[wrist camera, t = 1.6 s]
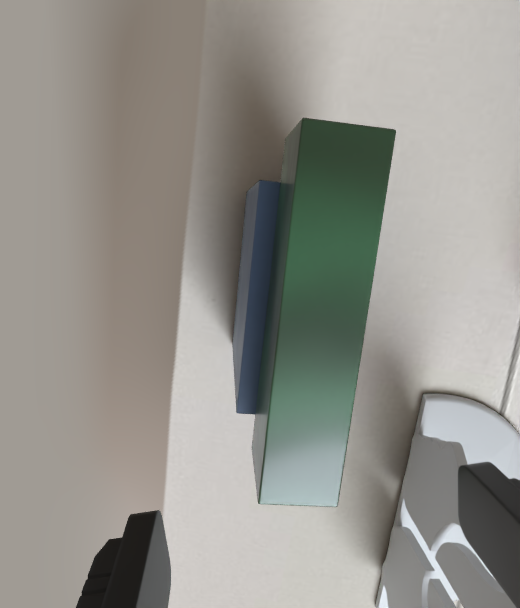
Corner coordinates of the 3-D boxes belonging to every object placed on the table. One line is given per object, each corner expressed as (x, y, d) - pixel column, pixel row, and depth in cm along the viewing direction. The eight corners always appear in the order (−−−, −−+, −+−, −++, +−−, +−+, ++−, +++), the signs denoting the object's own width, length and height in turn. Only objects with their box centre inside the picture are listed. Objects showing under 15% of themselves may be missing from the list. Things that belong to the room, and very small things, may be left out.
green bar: (284, 137, 20) (302, 117, 16) (359, 147, 21) (397, 129, 16) (251, 448, 23) (257, 504, 19) (316, 452, 24) (338, 507, 19)
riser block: (246, 191, 32) (259, 179, 21) (320, 199, 33) (373, 192, 21) (232, 345, 35) (236, 413, 23) (301, 350, 35) (339, 419, 23)
